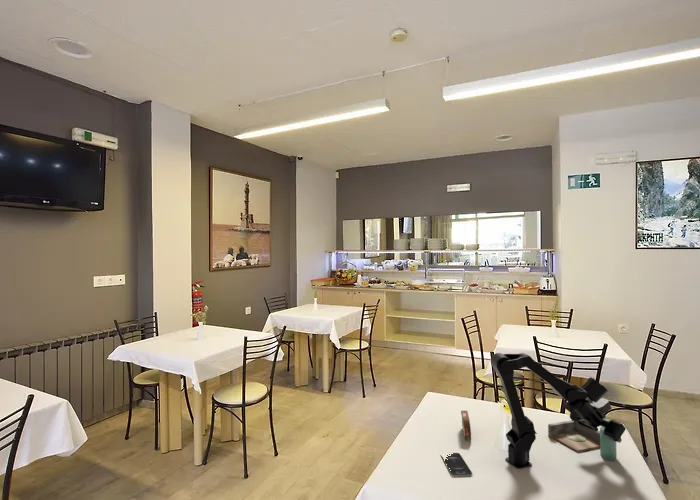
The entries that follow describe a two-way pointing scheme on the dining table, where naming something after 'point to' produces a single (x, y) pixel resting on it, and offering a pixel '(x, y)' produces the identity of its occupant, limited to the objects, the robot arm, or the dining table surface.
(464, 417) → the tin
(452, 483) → the dining table surface
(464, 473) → the smartphone
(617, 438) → the robot arm
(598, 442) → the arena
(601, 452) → the teal bottle
